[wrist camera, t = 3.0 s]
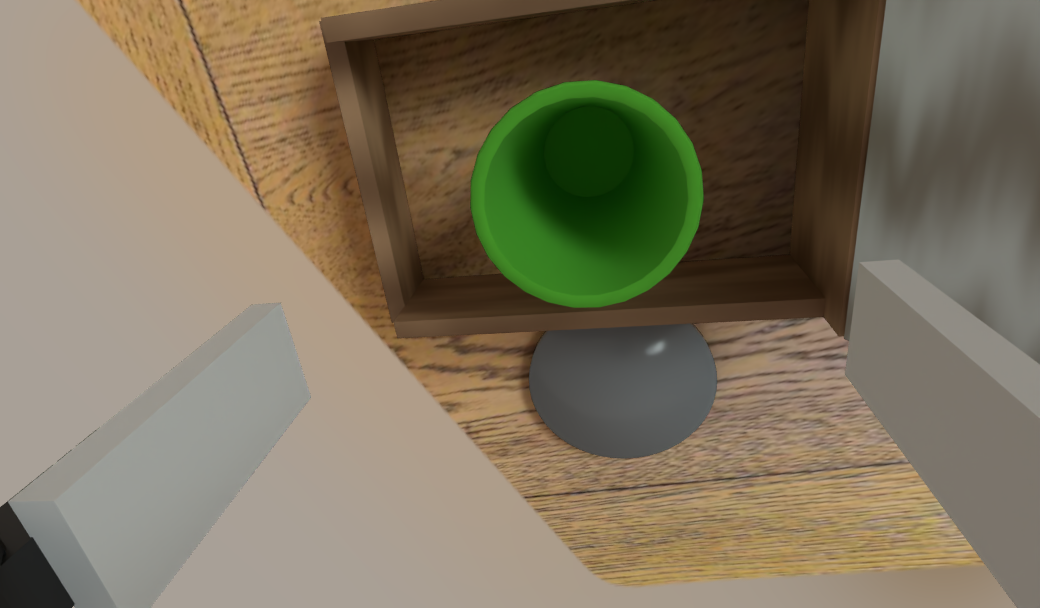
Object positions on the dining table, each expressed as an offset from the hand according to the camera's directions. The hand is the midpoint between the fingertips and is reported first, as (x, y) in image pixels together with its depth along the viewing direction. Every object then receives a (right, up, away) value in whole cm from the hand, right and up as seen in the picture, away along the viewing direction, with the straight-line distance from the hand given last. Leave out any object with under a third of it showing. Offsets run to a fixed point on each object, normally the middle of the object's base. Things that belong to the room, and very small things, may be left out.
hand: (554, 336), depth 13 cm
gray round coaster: (+6, -4, +25) cm, 26 cm away
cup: (+3, +9, +19) cm, 21 cm away
